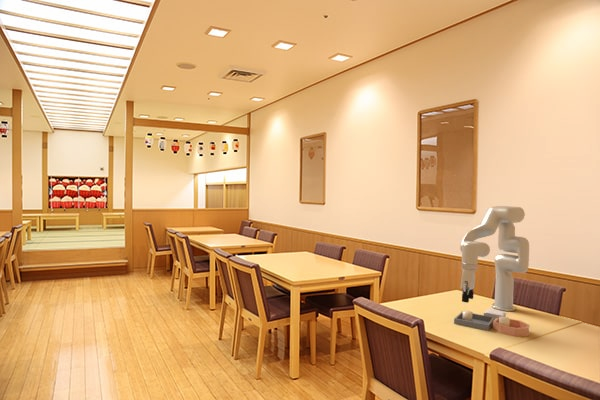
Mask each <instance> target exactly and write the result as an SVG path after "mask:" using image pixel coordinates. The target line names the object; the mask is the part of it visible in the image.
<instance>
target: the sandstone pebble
mask: <svg viewBox="0 0 600 400" xmlns="http://www.w3.org/2000/svg"><path fill="white" fill-rule="evenodd" d="M462 311H463V319H462V320H466V321H471V322H472V313H473V311H470V310H462Z"/></svg>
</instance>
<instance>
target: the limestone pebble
mask: <svg viewBox="0 0 600 400" xmlns="http://www.w3.org/2000/svg"><path fill="white" fill-rule="evenodd" d="M510 319H511V318H509V317H508V316H506V317H499V324H501V325H504V326H509V325H510Z"/></svg>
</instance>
